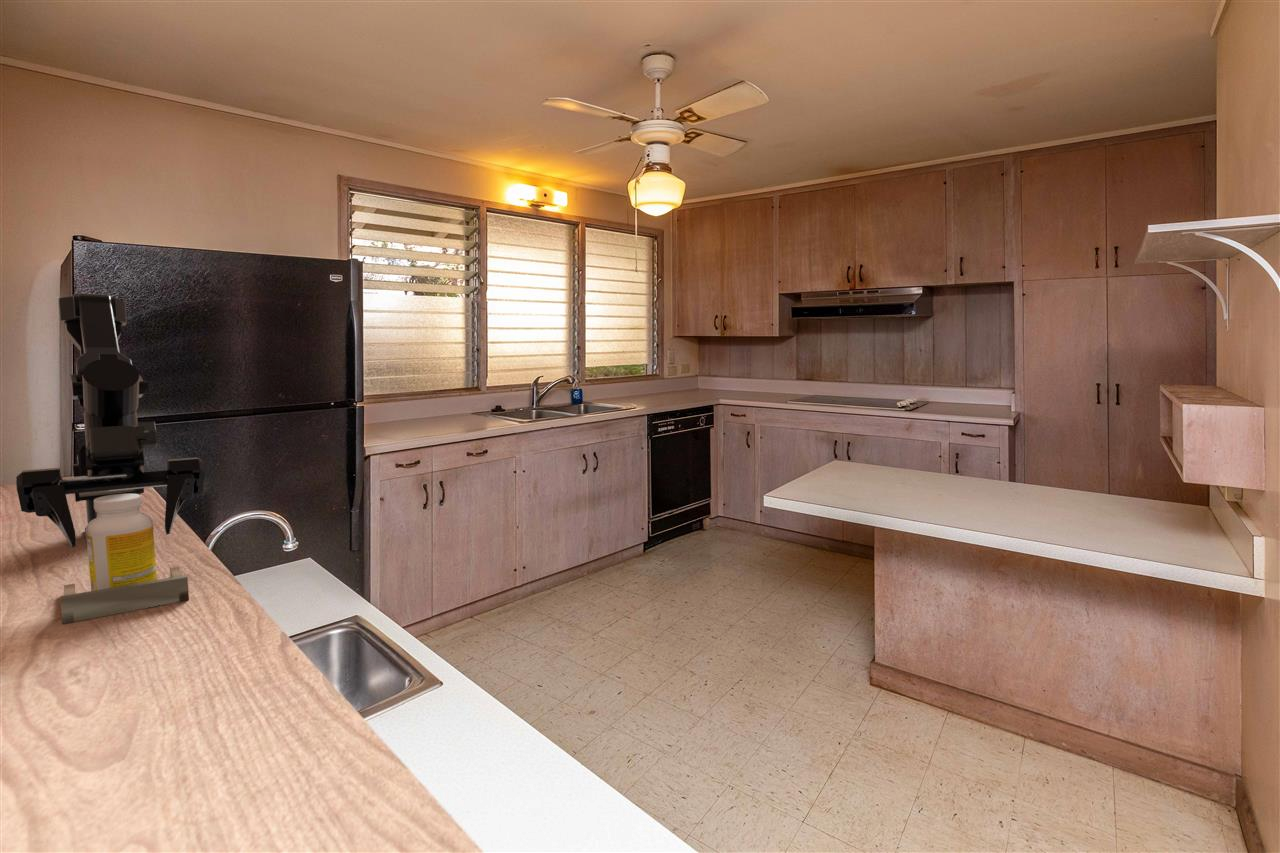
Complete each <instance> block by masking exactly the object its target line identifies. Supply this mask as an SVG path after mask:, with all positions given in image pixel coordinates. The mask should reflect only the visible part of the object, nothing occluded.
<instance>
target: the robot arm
mask: <svg viewBox="0 0 1280 853" xmlns="http://www.w3.org/2000/svg"><path fill="white" fill-rule="evenodd" d="M57 301H58V316H59V324H60V325H65V328H66V329H65V330H66V337H67V338H68V339H69V340H70V341H71V343H72V344H73V345H74V346H75V347H76V348H77V350H78V351H79V353H80V356H79V357H77V358H76V359H75V368H76V369H75V370H76V373H75V374H73V373H71V374H70V375H69V376H70V387H71V397H72V398H71V399H72V400H77V401H78V404H79V406H80V407H82V408H83V407H84V408H83V409H84V411H83V421H84V422H83V423H84V425H83V426H84V438H85V441H84V443H83V444H82V446H81V448H80V449H79V450H78V451H77V456H76V457H77V463H74V464H73V463H72V476H67V477H62V475H61V473H62V472H61V468H60V467H52V468H49V467H48V468H43V469H42V468H40V469H39V468H38V469H37V468H35V469H26V470H22V471H21V472H19V473H18V474H17V475H16V482H15V483H16V492H17V496H18V501H19V506H20V510H21V512H23V513H28V514H30V513H31V514H32V513H35V515H36V516H37V517H47V518H48V519H49V520H50V521H51V522H52V523H53V524H54V525H56V526H57V527H58V528H59V530H60V531H61V533H62V535H63V536H64V538H65V539H66V541H67V542H68V543H69V545H70V547H71V548H76V547H77V535H76V530H75V526H74V522H73V519H72V514H71V511H70V507H69V504H68V499H67V495H74V500H75V502H76V503H78V502H81V501H85V508H86V510H85V511H86V520H87V521H86V522H87V524H88V523H89V522H90V521H91V520H93V519H95V518H96V517H97V512H95V509H94V499H96V498H98V497H102V496H108V495H114V494H139V495H141V494H143V493H145V488H146V489H148V488H149V489H150V488H156V487H157V488H158V487H166V497H165V513H164V514H165V516H164V531H165V535H166V536H167V535H170V534H171V531H172V529H173V526H174V522H175V520H176V516H177V515H178V512H179V510H180V508H181V507H182V505H183V503H184V502H187V501H190V500H192V499H193V498H194V497H193V496H199V495H201V494H202V493H203V492H204V486H205V485H204V483H205V477H206V476H205V474H206V470H205V469H206V468H205V465H204V464H205V462H204V461H203V460H201V458H199V457H186V458H173V459H171V458H169V459H167V468H166V470H156V471H155V470H154V471H145V470H144V467H145V455H144V454H145V452H144V450H148V449H149V450H150V449H156V448H157V447H158V433H157V427H156V426H157V425H156V422H155V421H145V422H139V421H138V414H137V412H138V411H137V410H138V409H139V399H140V398H142V397H143V396H144V393H145V392H146V391H149V382H148V381H146V380H145V379H144V378H143V377H142V376H141V374H140V371H139V369H137V368H136V366H135V365H133V362H132V360H131V358H129V357H127V356H126V355H124V354H123V353H121V351H120V346H119V339H120V337H121V334H122V326H124V327H125V326H126V325H127V324H128V321H127V310H126V301H124V300H121V299H117V298H115V296H110V295H109V294H106V293H105V294H104V293H85V292H84V293H83V292H79V293H78V294H73V295H70V294H69V295H67V297H64V296H63V297H59V298H58V300H57ZM84 538H85V539H86V540H87V538H86V527H85V528H84Z"/></svg>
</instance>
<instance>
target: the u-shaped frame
mask: <svg viewBox="0 0 1280 853" xmlns="http://www.w3.org/2000/svg"><path fill="white" fill-rule="evenodd" d="M169 572H170V573H169V574H170V577H166V578H162V579H157V580H154V581H148V582H142V583H136V584H130V585H124V586H118V587H113V588H107V589H101V590H95V591H85V592H84V591H83V592H78V593H76V586H75V583H71V584H64V585H63V594H62V595H61V596H60V598H59V599H60V600H59V601H60V608H61V620H62V622H61V623H62V625H65V624H70V623H75V622H80V621H86V620H92V619H96V618H102V617H106V616H107V617H108V616H112V615H117V614H123V613H128V612H133V611H138V610H139V611H140V610H144V609H148V607H150V608H153V607H154V606H155V607H159V606H158V605H160V606H164V605H169V604H174V603H181V602H185V601H189V600H190V597H189V596H190V595H189V581H188V579H189V578H188V575H187V574H184V575H183V573H182V571H181V569H180V566H175V567H169ZM155 607H154V608H155Z"/></svg>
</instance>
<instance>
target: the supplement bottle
mask: <svg viewBox="0 0 1280 853" xmlns="http://www.w3.org/2000/svg"><path fill="white" fill-rule="evenodd" d="M141 506H142V495H141V494H140V495H139V494H114V495H108V496H102V497H98V498H96V499H94V509H95V512H97V517H96V518H95V519H93V520H91V521H90V522H89V523H87V524H86V527H85V528H86V538H87V539H86V538H85V539H86V546H87V547H86V548H87V555H88V556H87V557H88V568H89V569H88V570H89V579H90V588H91V589H90V590H91V591H95V590H101V589H107V588H113V587H118V586H124V585H130V584H136V583H142V582H148V581H154V580H158V573H157V572H158V571H157V561H156V549H155V547H156V546H155V536H154V524H153V522H154V521H153V519H152V517H151V516H150V515H148V514H147V513H144V512H141Z"/></svg>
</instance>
